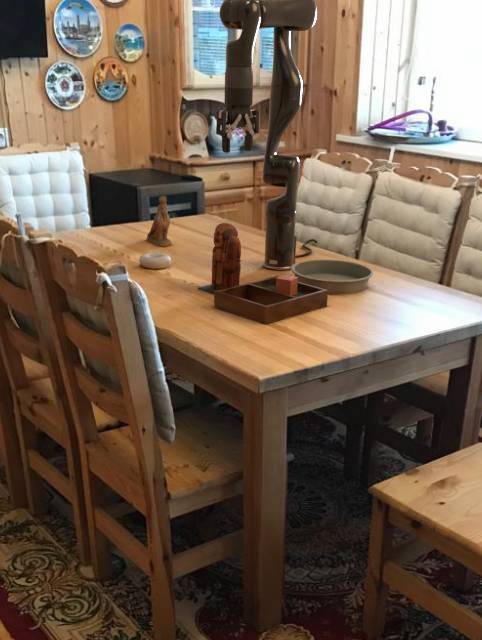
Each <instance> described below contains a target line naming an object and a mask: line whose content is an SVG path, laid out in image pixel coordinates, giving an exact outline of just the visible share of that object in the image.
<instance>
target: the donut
mask: <svg viewBox="0 0 482 640" xmlns="http://www.w3.org/2000/svg"><path fill="white" fill-rule="evenodd" d="M138 259H139V260H138V262H139V264H140V265H141V266H142V267H143V268H146V269H152V270H160V269H165V268H168V267H169V266H171V264H172V258H171V256H170V255H169V254H167V253H163V252H146V253H143V254H141V255H140V257H139V258H138Z"/></svg>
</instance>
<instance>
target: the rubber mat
mask: <svg viewBox="0 0 482 640" xmlns="http://www.w3.org/2000/svg"><path fill="white" fill-rule="evenodd" d="M197 290H199V291H203V292H206V293H210V294H212V295H214V291H217V289H216V288H213V287H212V283H211V284H208V285H204V286H199V287H197Z"/></svg>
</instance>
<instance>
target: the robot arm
mask: <svg viewBox="0 0 482 640" xmlns="http://www.w3.org/2000/svg"><path fill="white" fill-rule="evenodd" d="M317 11H318V10H317V4H316V1H315V0H223V2H222V3H221V4H220V8H219V19H220V22H221V24H222V25H223V26H224V27H225V28H226V29H228V30H237V31H238V30H239V31H240V30H241V32H240V35H239V37H238V38H237V39H232V40H229V41H228V42H227V44H226V46H225V71H224V105H225V106H226V107H225V110H220V109H218V110H217V111H216V124H215V134H216V135H218V136H220V137H221V150H222V152H223V153H227V154H229V153H231V138H230V137H231V135H232V133H233V132H234V131H235V130H236V129H239V128H241V129H242V130H243V132H244V134H245V135H244V146H243V147H244V151H246V152H250V151H253V145H254V144H253V142H254V136H255V135H256V134H259V132H260V111H259V109H256V108H251V106H253V97H254V93H253V92H254V71H253V64H254V63H253V61H254V47H255V43H256V39H257V35H258V32H259V30H263V29H270V28H272V29H273V58H272V59H273V60H272V72H271V82H270V91H269V106H268V107H269V110H268V125H267V133H266V134H267V135H266V141H265V142H266V143H265V150H264V157H263V164H262V182H263V184H264V186H266V187H271V188H283V189H285V192H284V193H283V194H281V195H279V196H277V197H273V198H270V199H268V200H267V202H266V208H265V209H266V211H265V233H264V234H265V236H264V237H265V238H264V258H263V259H264V260H263V261H264V262H263V267H264V268H266V269H269V270H275V271H276V270H277V271H288V270H291V267H292V266H293V265H294V264H296V258H303V257H307V256H309V255H311V254H312V252H313V249H311V248H309V247H308V246H307V245H308V244H309V243H311V242H314V244H318V241H317V240H316V239H315V238H311V239H308V240H306V241H305V242H304V243H303V244H302V248H304V249H305V250H306V251H308V252H305V253H301V254H297V255H296V253H297V238H298V237H297V235H296V218H297V205H298V191H299V181H300V174H301V173H300V172H301V166H300V165H301V164H300V159H299V157H298V156H296V155H290V154H278V150H279V147H280V143H281V140H282V138H283V136H284V134H285V133H286V131H287V129H288V128H289V127H290V125H291V124H292V122H293V121H294V120H295V118H296V117H297V115H298V114H299V112H300V110H301V106H302V97H303V96H302V95H303V79H302V76H301V74H300V71H299V69H298V67H297V64H296V62H295V60H294V58H293V55H292V51H291V32H305V31H309V30H311V29H312V28H313V26H314V25H315V23H316V20H317V16H318V15H317V13H318V12H317Z"/></svg>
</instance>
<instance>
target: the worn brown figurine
mask: <svg viewBox="0 0 482 640" xmlns="http://www.w3.org/2000/svg"><path fill="white" fill-rule="evenodd" d="M167 201H168V199H167V196H166V195H165V194H162V195H160V196H159V197H158V202H159V204H157V207H156V213H155V215H154V218H153V222H152V224H151V227H150V230H149V231H148V233H147V236H146V241H148V242H149V243H151V244H154V246H155V245H156V246H158V247H169V246H170V247H171V246H172V241H171V239H169V238H168V233H169V228H170V225H171V216H170V214H169V213H168V212H169V211H168V209H169V206H168V204H167Z"/></svg>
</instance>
